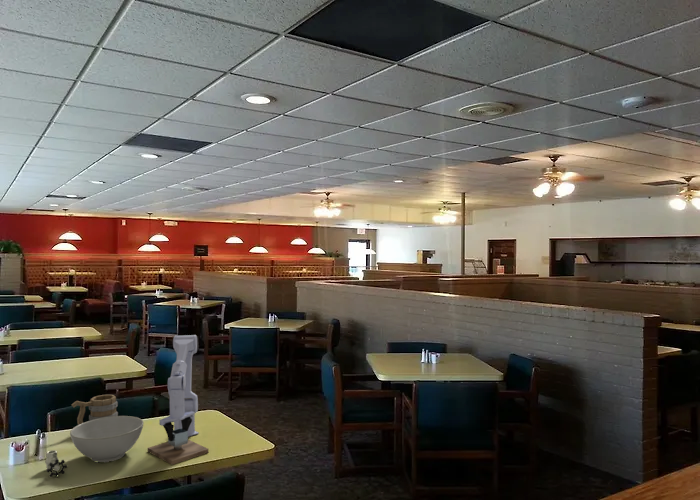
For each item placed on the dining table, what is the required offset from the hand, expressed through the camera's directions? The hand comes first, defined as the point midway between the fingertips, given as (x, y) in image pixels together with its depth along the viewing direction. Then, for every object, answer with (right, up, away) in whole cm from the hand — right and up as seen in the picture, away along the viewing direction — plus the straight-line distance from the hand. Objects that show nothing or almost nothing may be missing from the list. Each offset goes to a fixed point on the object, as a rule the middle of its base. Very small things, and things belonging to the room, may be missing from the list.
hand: (177, 438), depth 217 cm
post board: (0, -6, 0) cm, 6 cm away
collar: (0, -2, 0) cm, 2 cm away
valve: (-41, -7, -18) cm, 45 cm away
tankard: (-47, -6, +28) cm, 55 cm away
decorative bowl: (-27, -6, -4) cm, 28 cm away
